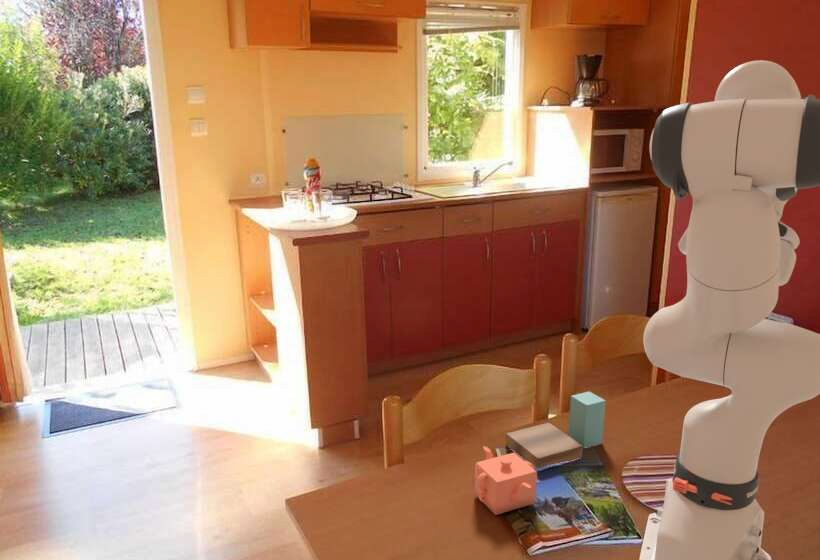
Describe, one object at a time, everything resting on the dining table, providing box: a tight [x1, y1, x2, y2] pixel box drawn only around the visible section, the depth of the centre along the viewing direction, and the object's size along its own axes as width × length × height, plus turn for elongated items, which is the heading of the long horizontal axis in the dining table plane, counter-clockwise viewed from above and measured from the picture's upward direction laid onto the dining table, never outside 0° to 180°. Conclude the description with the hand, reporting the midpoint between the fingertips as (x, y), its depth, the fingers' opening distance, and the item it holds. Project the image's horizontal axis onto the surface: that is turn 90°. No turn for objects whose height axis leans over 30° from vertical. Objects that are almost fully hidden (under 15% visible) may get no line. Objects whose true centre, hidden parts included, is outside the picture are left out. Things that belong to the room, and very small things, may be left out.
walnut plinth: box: [505, 422, 584, 469], centre depth 133 cm, size 11×11×3 cm
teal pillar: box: [567, 390, 607, 448], centre depth 136 cm, size 5×5×10 cm
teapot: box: [474, 446, 538, 516], centre depth 116 cm, size 12×15×8 cm
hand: (716, 289), depth 122 cm, fingers open, 8 cm apart
